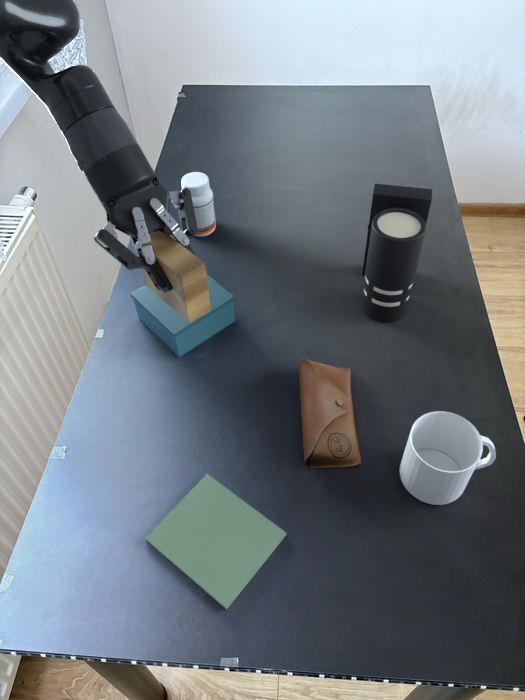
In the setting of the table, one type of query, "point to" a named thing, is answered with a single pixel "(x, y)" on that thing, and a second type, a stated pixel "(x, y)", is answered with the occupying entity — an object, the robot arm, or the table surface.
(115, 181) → the robot arm
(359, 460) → the sunglasses case
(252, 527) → the mat
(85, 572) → the table surface
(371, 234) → the light fixture
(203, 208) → the pill bottle
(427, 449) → the mug
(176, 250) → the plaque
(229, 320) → the toy box
